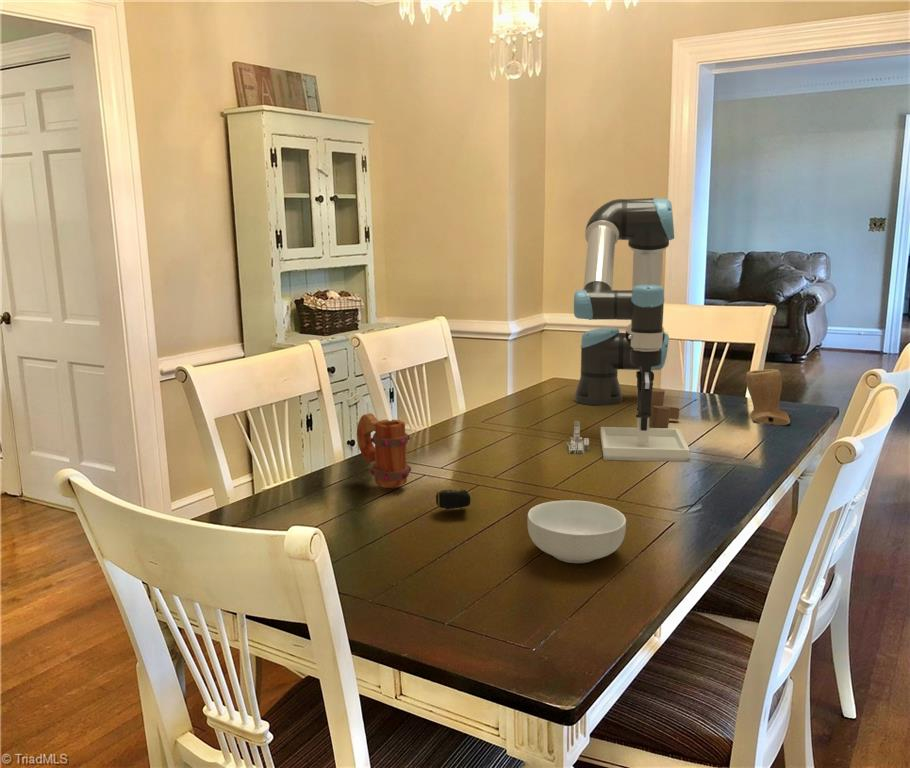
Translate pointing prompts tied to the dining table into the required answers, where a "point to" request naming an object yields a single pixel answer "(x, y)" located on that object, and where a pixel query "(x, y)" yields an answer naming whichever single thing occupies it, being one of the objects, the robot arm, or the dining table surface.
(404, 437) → the mug
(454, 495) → the tape measure
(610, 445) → the tray
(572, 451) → the house of cards
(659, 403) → the wooden block set
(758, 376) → the brown upright flared piece
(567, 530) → the cereal bowl
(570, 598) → the dining table surface
